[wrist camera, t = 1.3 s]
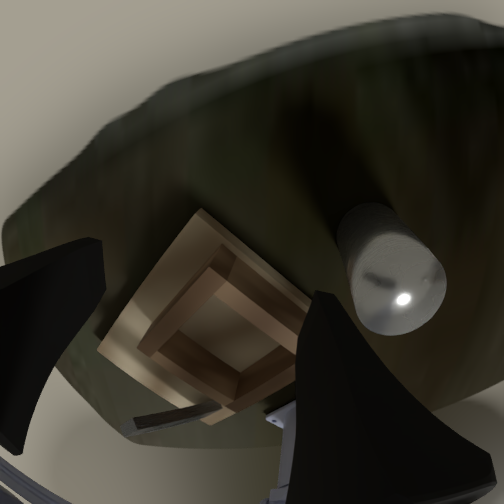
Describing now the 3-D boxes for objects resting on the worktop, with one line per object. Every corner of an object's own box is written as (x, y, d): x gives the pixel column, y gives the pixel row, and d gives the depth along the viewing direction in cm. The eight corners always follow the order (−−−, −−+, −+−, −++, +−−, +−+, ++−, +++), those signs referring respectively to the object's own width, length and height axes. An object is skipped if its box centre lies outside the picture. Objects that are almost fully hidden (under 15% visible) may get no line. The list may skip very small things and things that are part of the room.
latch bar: (218, 398, 25) (223, 408, 24) (201, 408, 26) (205, 417, 26) (132, 417, 18) (137, 429, 17) (120, 426, 19) (124, 437, 19)
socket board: (349, 332, 21) (356, 372, 17) (212, 416, 28) (203, 448, 25) (200, 207, 19) (177, 231, 15) (102, 342, 26) (81, 370, 22)
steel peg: (413, 235, 17) (460, 292, 11) (365, 278, 19) (390, 349, 13) (372, 187, 17) (414, 228, 10) (322, 236, 18) (334, 299, 12)
